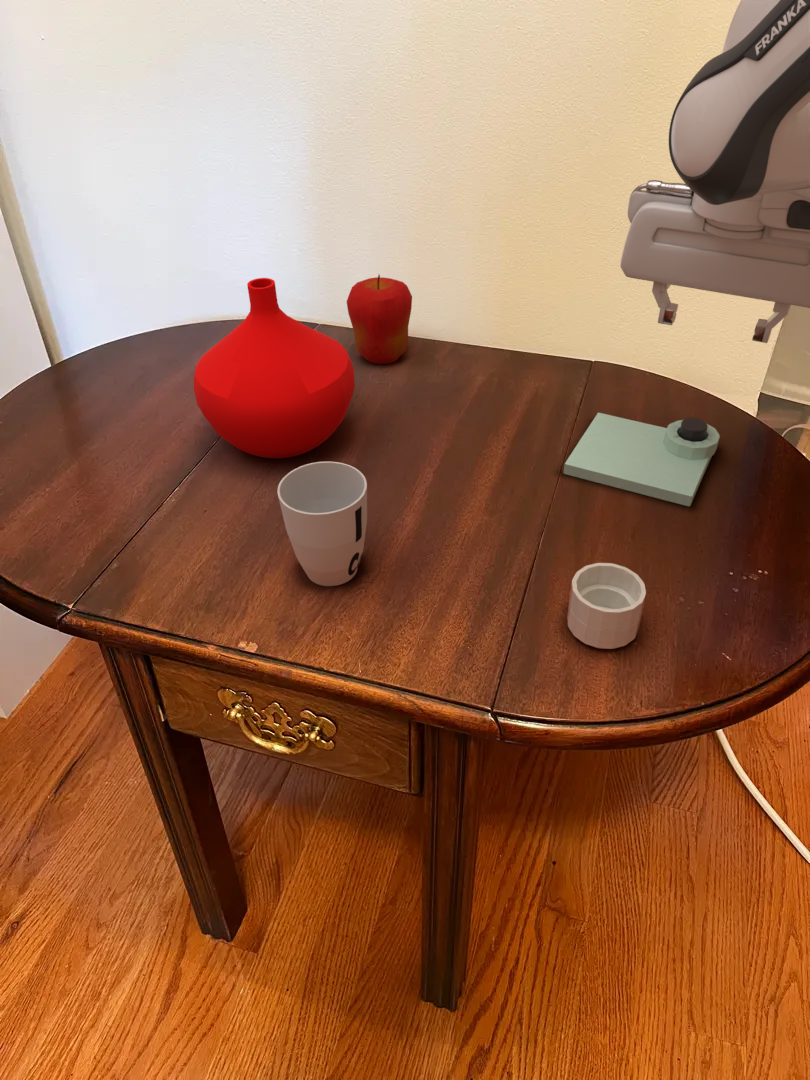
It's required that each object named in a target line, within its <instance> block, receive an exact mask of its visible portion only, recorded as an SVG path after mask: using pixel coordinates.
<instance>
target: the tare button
mask: <svg viewBox="0 0 810 1080" xmlns="http://www.w3.org/2000/svg"><path fill="white" fill-rule="evenodd" d="M682 420H683V421H682V423H681V427H680V432H679V436H680V437H681V438H682V439H684V440H687V441H691V442H700V441H703V440H704V439H705V435H706V431H707V427H708V426H707V424H708V423H707V422H706V421H705V420H703V419H700V418H697V417H688V418H687V417H686V418H684V419H682Z"/></svg>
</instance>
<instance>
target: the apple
mask: <svg viewBox="0 0 810 1080" xmlns="http://www.w3.org/2000/svg"><path fill="white" fill-rule="evenodd" d="M412 306H413V295H412V293H411V290H410V289H409V287H408V285H407V284H406V283H405V282H404V281H402V280H398V279H394V278H390V277H381V275H380V274H378V276H376V277H369V278H366V279H363V280H360V281H357V282H356V283H355V284H354V285H352V286H351V289H350V291H349V293H348V297H347V299H346V308H347V313H348V317H349V321H350V323H351V327H352V330H353V335H354V342H355V348H356V350H357V352H358V354H360V355H361V357H362V358H364V359H365V360H366V361H368V362H370V363H373V364H378V365H379V364H381V365H384V364H385V365H386V364H391V363H393V362H396V361H397V360H398V359H399V358H400V357H401V356H402V355H403V354H404V353H405V352H406V351H407V349H408V346H409V325H410V319H411V314H412Z"/></svg>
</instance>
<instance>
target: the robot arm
mask: <svg viewBox="0 0 810 1080" xmlns="http://www.w3.org/2000/svg"><path fill="white" fill-rule="evenodd" d="M736 7H737V8H736V10H735V12H734V14H733V17H732V19H731V21H730V25H729V27H728V31H727V34H726V37H725V40H724V44H723V47H722V51H721V53H719V54H718V55H716V56H714V57H712V58H711V59H709V60H708V61H707V62H706V63H705V64H704V65H703V66H702V67H701V68H700V69H699V70H698V71H697V72H696V73H695V74H694V76H693V77H692V79H691V80H690V82H689V83H688V84H687V86H686V87H685V89H684V90H683V92H682V94H681V95H680V97H679V99H678V101H677V103H676V105H675V108H674V110H673V113H672V116H671V119H670V123H669V129H668V152H669V157H670V161H671V163H672V165H673V168H674V170H675V171H676V174H678V176H679V177H680V179H681V180H682V181H683V183H682V182H664V181H663V180H659V179H652V180H651V179H650V180H647V182H646V183H642V184H639V185H638V186H636V188H634V189H633V191H632V192H631V193H630V195H629V200H628V208H627V218H628V220H629V223H630V226H629V229H628V232H627V235H626V238H625V242H624V246H623V249H622V253H621V254H622V255H621V259H620V269H621V271H622V272H623V274H624V276H625V277H626V278H629V279H636V280H642V281H648V282H653V283H652V289H651V292H652V294H653V297H654V299H655V302H656V304H657V307H658V309H659V312H658V317H657V318H658V319H657V323H658V324H661V325H667V326H673V325H674V323H675V321H676V318H677V312H678V308H679V303H674V302H672V301H671V299H670V296H669V292H668V289H669V288H670V287H671V286H677V287H683V288H689V289H695V290H699V291H701V290H702V291H707V292H713V293H719V294H726V295H731V296H736V297H742V298H749V299H754V300H759V301H764V302H765V301H766V302H772V303H774V305H773V308H772V312H773V313H772V314H771V315H770V316H769V317H768V318H767V319H766V318H758V320H757V323H756V324H755V328H754V331H753V335H752V339H751V341H753V342H758V343H764V344H768V342H769V340H770V337H771V334H772V330H773V329H774V328H775V327H776V326H777V325H778V324H780V322H781V321H783V320H784V318H786V317H787V316H788V314H789V311H790V309H791V306H794V307H802V308H806V309H807V308H808V309H810V0H740V2H739V3H738V5H737V6H736ZM644 189H645V190H644Z"/></svg>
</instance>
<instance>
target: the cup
mask: <svg viewBox="0 0 810 1080" xmlns="http://www.w3.org/2000/svg"><path fill="white" fill-rule="evenodd" d="M276 491H277V496H278V497H277V498H278V501H279V506H280V510H281V514H282V519H283V522H284V527H285V531H286V533H287V536H288V539H289V542H290V544H291V547H292V549H293V552H294V554H295V557H296V559H297V561H298V563H299V564H300V566H301V568H302V569H303V571H304V572H305V574H306V576H307V577H308V579H309V580H310V581H311V582H313V583H314V584H316V585H319V586H323V587H335V586H340V585H344V584H346V583H348V582H349V581H350V580H352V579H353V578H355V575H356V574H357V571H358V569H359V566H360V562H361V560H362V559H361V558H362V556H363V553H364V548H365V540H366V532H367V526H368V525H367V524H368V482H367V478H366V477H365V475H364V473H363V472H362V471H361V470H359V469H358V468H357V467H354V466H352V465H349V464H347V463H344V462H339V461H316V462H311V463H307V464H303V465H301V466H298V467H297V468H294V469H292V470H290V472H288V473H287V474H286V475H284V476H283V477H282V479H281V480H280V481H279V483H278V486H277V490H276Z"/></svg>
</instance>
